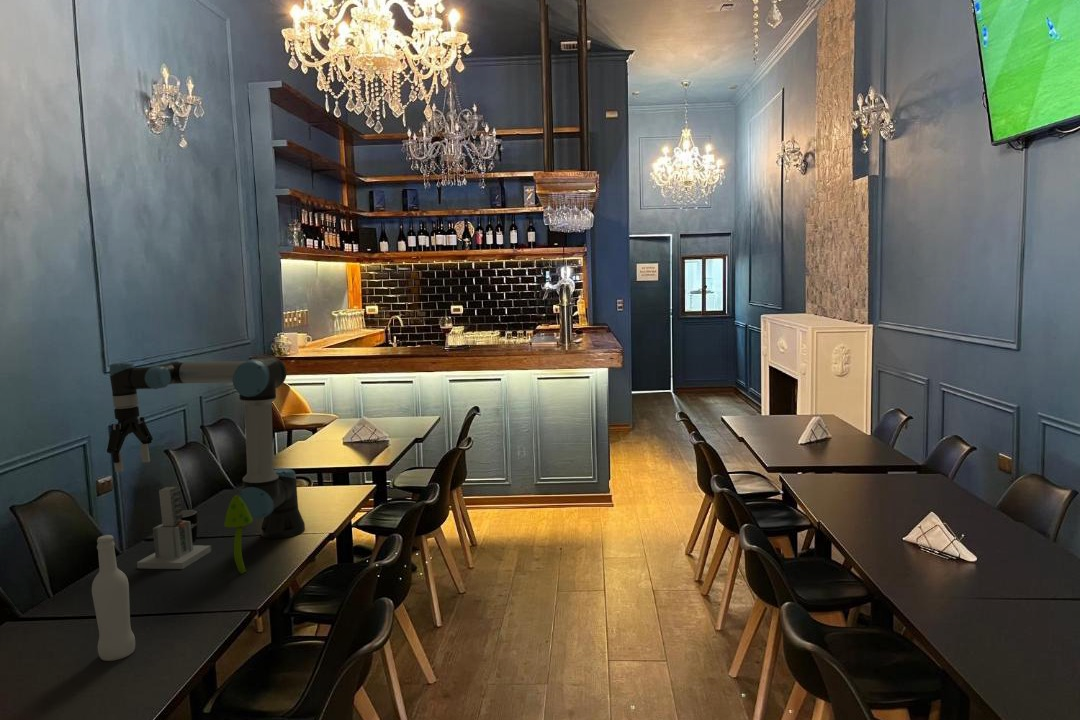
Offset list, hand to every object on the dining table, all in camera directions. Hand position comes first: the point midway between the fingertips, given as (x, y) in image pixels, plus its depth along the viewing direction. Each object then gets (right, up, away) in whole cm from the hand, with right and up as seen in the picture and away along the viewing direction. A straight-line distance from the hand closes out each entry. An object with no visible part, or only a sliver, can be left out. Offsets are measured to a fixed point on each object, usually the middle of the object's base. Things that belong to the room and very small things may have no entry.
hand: (133, 466), depth 270 cm
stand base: (+21, -29, -13) cm, 38 cm away
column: (+21, -27, -14) cm, 37 cm away
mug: (+16, -27, +7) cm, 32 cm away
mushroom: (+49, -29, -28) cm, 64 cm away
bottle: (+38, -35, -79) cm, 95 cm away
